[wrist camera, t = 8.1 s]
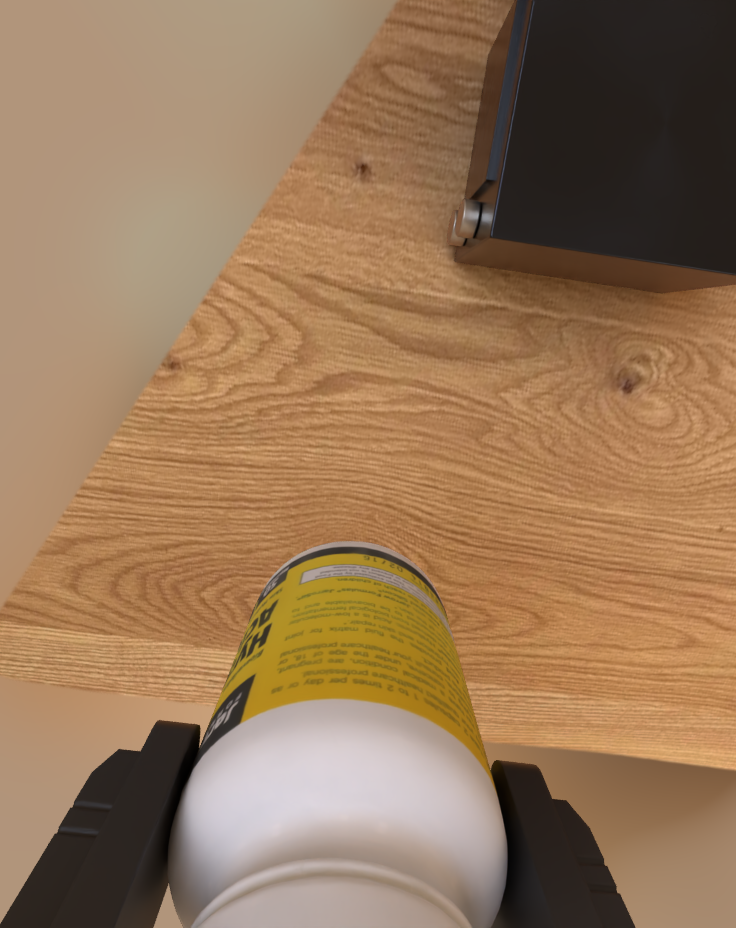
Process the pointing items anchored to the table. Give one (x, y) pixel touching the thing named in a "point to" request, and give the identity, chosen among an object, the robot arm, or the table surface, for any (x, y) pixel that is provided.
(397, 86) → the table surface
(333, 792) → the supplement bottle
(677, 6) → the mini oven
